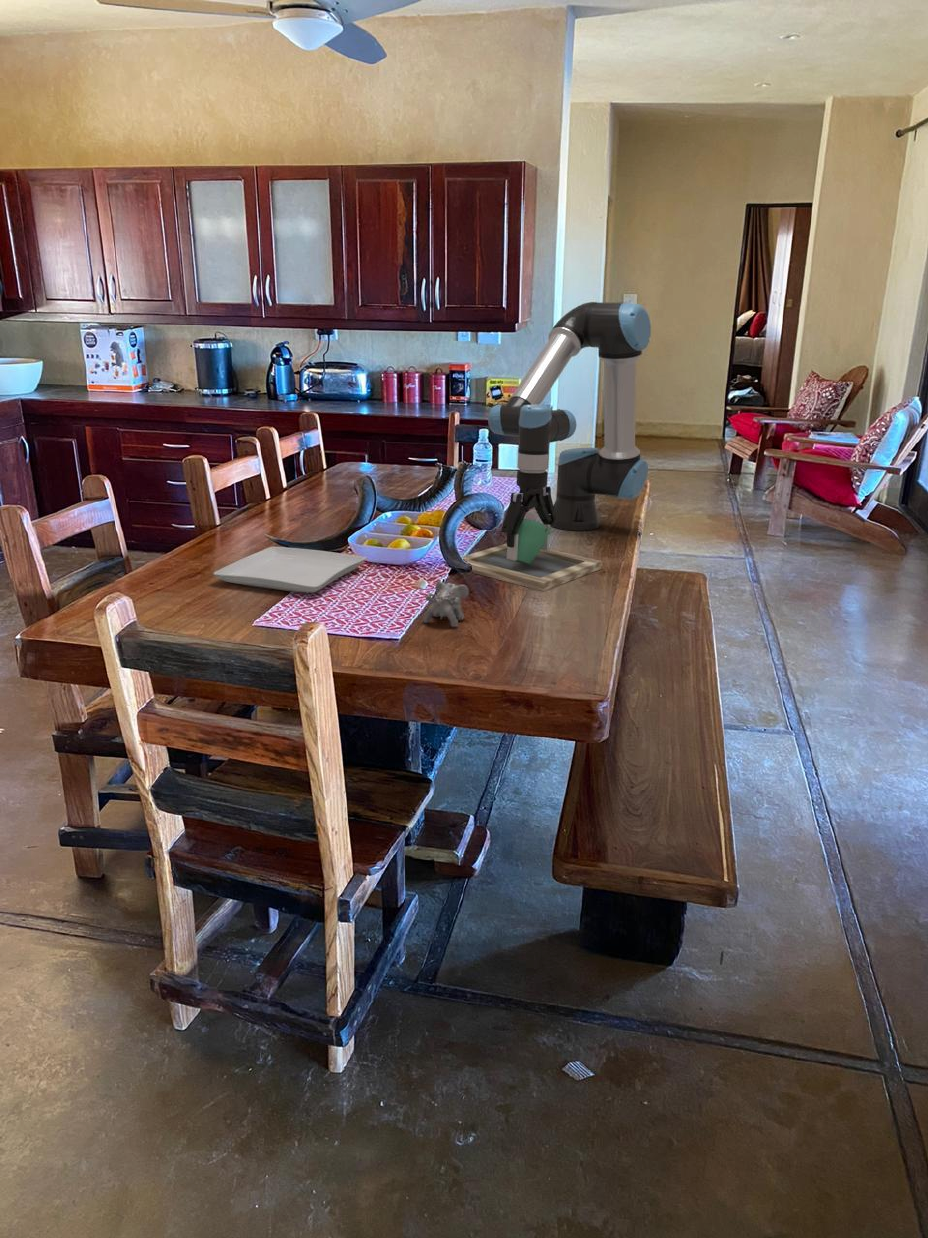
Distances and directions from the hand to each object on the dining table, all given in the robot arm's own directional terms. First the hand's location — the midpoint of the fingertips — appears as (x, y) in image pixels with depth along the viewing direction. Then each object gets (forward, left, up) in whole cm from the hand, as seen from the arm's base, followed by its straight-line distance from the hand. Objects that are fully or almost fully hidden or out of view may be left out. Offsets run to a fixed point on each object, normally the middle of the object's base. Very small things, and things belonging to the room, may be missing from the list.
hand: (528, 554), depth 226 cm
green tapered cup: (+2, 0, -2) cm, 3 cm away
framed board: (0, 0, -4) cm, 4 cm away
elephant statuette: (+43, +10, -4) cm, 44 cm away
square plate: (+46, -36, -4) cm, 59 cm away
